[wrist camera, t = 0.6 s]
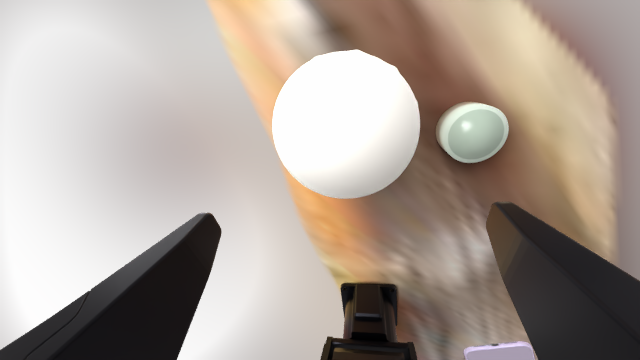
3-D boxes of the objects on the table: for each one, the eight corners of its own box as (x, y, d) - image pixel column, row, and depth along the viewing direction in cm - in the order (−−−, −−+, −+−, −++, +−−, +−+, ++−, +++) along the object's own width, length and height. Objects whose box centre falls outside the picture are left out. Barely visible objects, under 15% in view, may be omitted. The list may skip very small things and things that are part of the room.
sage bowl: (486, 149, 22) (504, 160, 19) (432, 153, 23) (442, 165, 20) (492, 97, 20) (513, 101, 17) (434, 104, 21) (445, 108, 18)
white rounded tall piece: (392, 137, 23) (419, 195, 12) (321, 143, 24) (286, 201, 13) (390, 57, 20) (421, 37, 9) (311, 69, 21) (257, 64, 11)
